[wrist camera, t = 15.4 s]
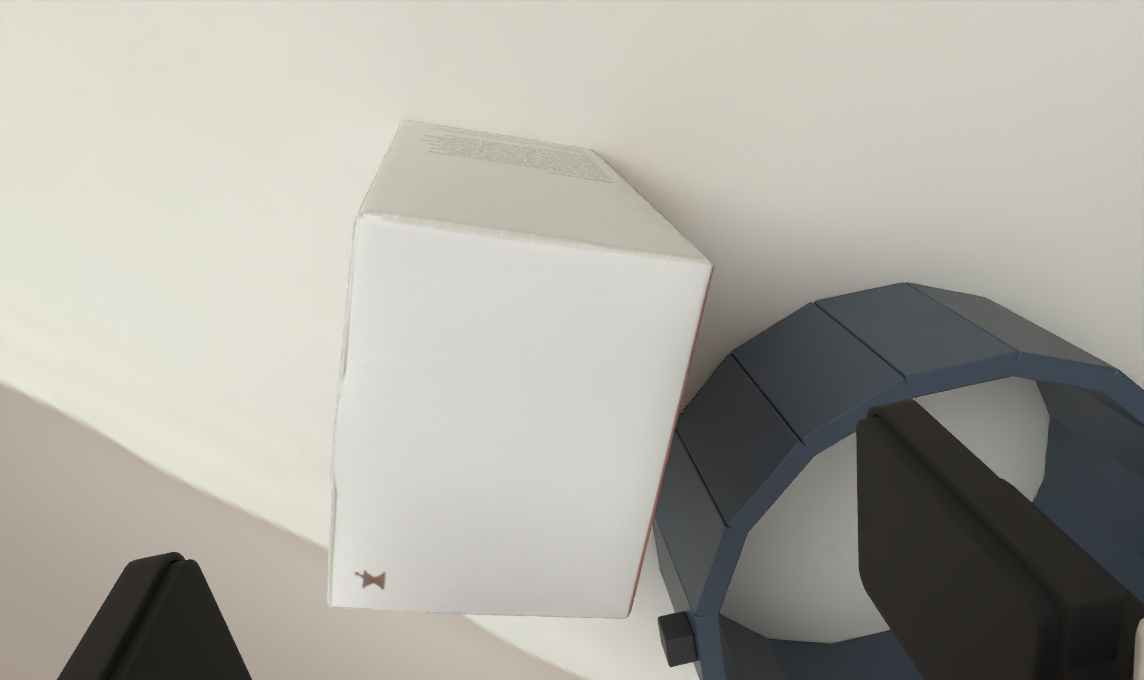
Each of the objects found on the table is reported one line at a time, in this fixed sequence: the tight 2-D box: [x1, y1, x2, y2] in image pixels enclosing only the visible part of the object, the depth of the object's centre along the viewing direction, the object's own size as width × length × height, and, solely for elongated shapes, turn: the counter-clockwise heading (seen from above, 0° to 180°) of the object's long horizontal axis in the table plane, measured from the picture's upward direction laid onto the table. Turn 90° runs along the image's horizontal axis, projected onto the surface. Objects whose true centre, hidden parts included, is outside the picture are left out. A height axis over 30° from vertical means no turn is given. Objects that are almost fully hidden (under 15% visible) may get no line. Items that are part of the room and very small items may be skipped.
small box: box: [327, 120, 714, 619], centre depth 20 cm, size 8×6×13 cm
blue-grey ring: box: [653, 282, 1144, 680], centre depth 29 cm, size 18×20×6 cm
